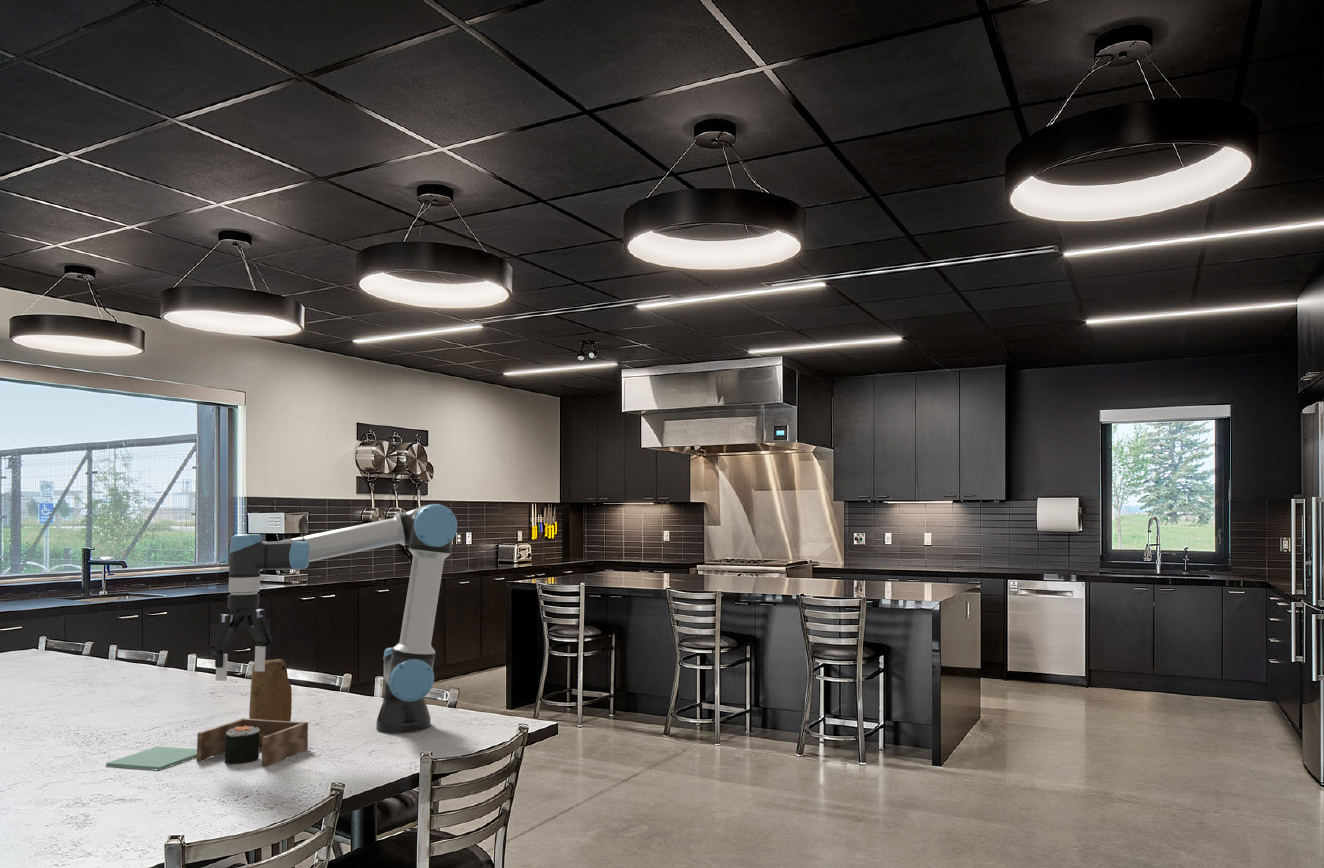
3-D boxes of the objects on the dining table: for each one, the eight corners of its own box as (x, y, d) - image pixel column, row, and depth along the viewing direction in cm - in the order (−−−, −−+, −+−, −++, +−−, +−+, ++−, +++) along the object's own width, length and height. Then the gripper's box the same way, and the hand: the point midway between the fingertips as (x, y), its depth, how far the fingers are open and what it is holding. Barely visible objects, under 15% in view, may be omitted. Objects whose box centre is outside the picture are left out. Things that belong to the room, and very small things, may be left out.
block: (250, 736, 253) (252, 663, 255) (248, 731, 260) (250, 660, 261) (292, 731, 258) (293, 660, 260) (288, 726, 265) (290, 656, 266)
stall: (241, 745, 244) (242, 718, 244) (307, 749, 239) (308, 722, 239) (196, 761, 228) (197, 732, 229) (265, 766, 223) (266, 737, 224)
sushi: (225, 766, 224) (226, 733, 225) (223, 758, 231) (224, 726, 232) (260, 761, 228) (261, 729, 228) (258, 753, 235) (259, 722, 236)
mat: (207, 753, 236) (208, 750, 236) (159, 770, 220) (159, 767, 220) (157, 749, 240) (157, 746, 240) (106, 766, 224) (106, 763, 225)
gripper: (265, 589, 251) (263, 667, 249) (195, 597, 227) (191, 683, 225) (288, 589, 248) (285, 668, 247) (219, 598, 225) (216, 685, 223)
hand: (240, 675), depth 236 cm, fingers open, 13 cm apart
